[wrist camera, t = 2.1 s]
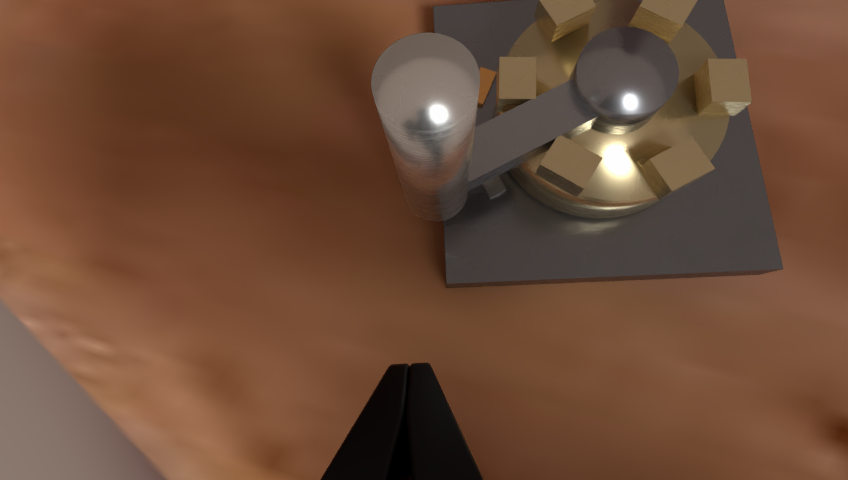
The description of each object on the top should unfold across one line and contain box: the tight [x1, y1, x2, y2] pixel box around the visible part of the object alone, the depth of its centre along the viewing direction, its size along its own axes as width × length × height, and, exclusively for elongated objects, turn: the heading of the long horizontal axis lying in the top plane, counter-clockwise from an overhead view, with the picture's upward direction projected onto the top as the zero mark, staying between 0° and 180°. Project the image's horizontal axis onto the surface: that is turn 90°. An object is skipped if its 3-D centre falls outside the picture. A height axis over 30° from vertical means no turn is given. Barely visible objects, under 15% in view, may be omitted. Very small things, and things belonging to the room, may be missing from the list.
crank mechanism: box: [371, 0, 752, 222], centre depth 16 cm, size 14×9×10 cm, turn 117°
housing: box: [433, 0, 783, 288], centre depth 21 cm, size 14×14×2 cm
